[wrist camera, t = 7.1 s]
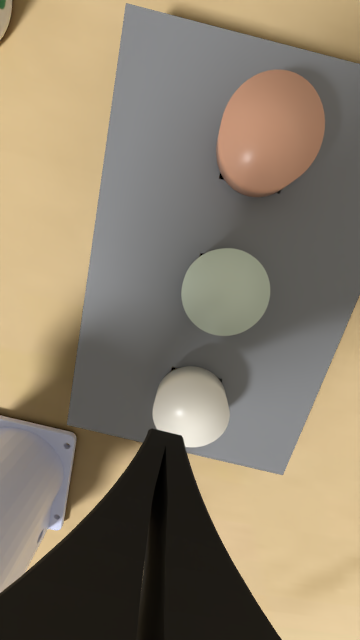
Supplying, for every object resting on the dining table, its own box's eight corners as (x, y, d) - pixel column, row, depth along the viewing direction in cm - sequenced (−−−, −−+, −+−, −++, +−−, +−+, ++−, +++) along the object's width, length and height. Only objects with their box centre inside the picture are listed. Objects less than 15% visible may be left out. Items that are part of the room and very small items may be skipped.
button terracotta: (275, 213, 14) (303, 199, 10) (204, 195, 14) (208, 175, 10) (300, 130, 13) (341, 84, 9) (224, 110, 13) (236, 57, 9)
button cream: (212, 413, 17) (217, 454, 14) (155, 400, 17) (145, 437, 14) (229, 360, 16) (239, 390, 13) (168, 346, 16) (161, 371, 13)
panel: (270, 446, 19) (282, 475, 16) (83, 402, 18) (66, 424, 16) (401, 117, 13) (448, 87, 11) (138, 50, 13) (126, 3, 11)
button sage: (240, 324, 16) (254, 344, 12) (177, 308, 15) (172, 324, 12) (260, 258, 14) (282, 260, 11) (192, 242, 14) (193, 238, 11)
